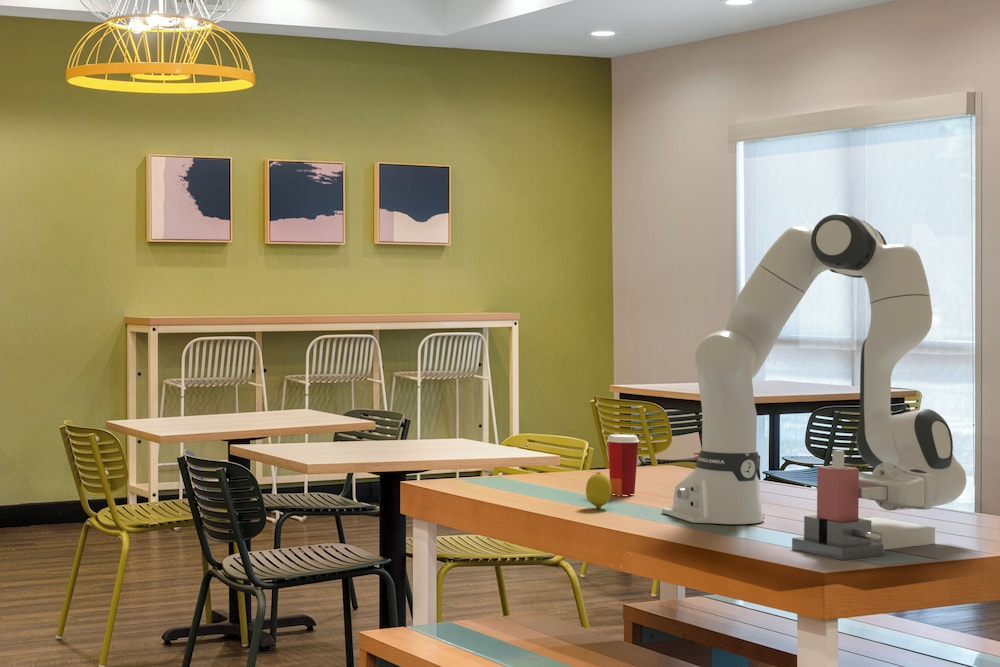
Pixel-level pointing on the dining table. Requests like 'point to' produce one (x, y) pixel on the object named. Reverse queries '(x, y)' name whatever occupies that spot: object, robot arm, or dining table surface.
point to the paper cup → (622, 463)
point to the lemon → (598, 490)
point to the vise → (838, 533)
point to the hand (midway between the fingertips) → (839, 490)
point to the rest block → (901, 533)
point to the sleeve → (837, 493)
